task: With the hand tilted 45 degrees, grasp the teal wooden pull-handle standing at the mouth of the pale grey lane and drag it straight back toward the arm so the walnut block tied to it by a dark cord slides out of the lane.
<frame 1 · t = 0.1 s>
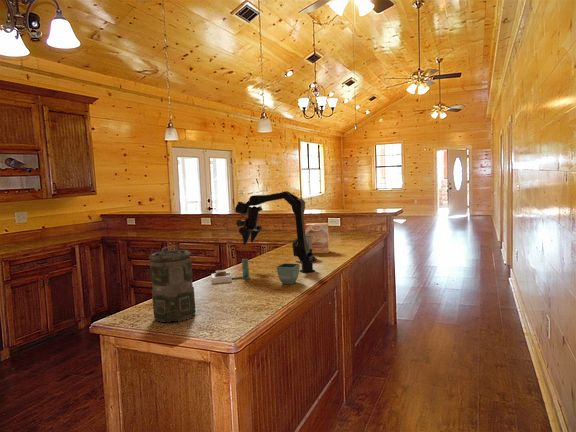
hand: (248, 243, 243), 15 cm above the table, tool pointing down, fingers open, 9 cm apart
flower pot: (289, 283, 209), on the table
coffeecake box: (318, 252, 288), on the table
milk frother: (308, 259, 265), on the table
lane: (221, 280, 223), on the table
canister: (175, 317, 167), on the table
tethered block: (221, 280, 223), on the table
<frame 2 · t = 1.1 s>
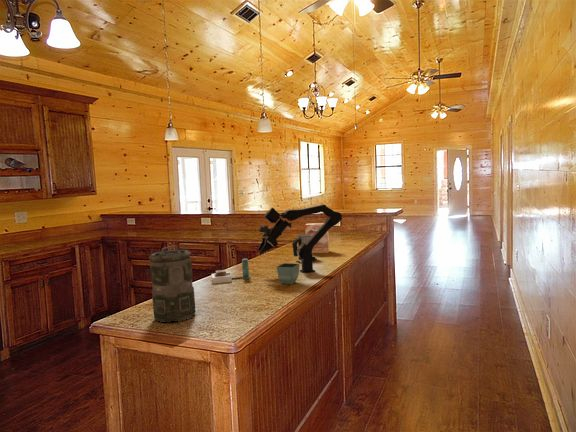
hand: (259, 251, 226), 13 cm above the table, tool tilted 45°, fingers open, 9 cm apart
nothing on the table moved.
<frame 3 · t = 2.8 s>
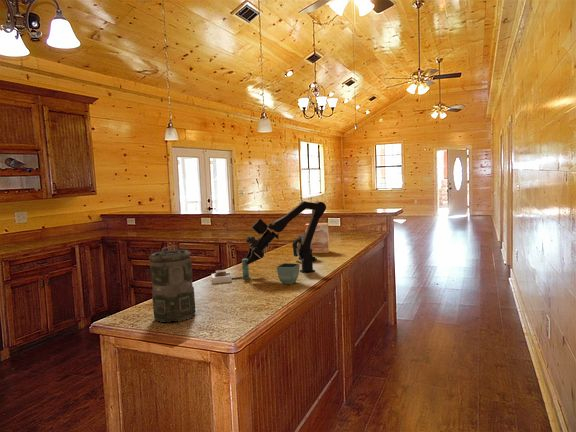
hand: (245, 262, 225), 8 cm above the table, tool tilted 45°, fingers open, 9 cm apart
nothing on the table moved.
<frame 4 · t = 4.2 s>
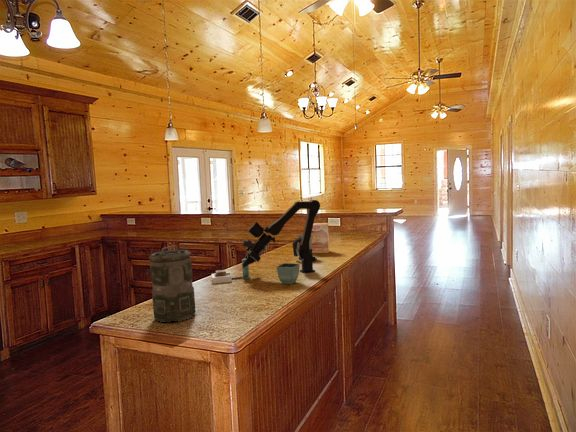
hand: (242, 266, 225), 7 cm above the table, tool tilted 45°, fingers closed on tethered block, 3 cm apart
tethered block: (221, 280, 223), on the table, touching gripper
everything else where it was.
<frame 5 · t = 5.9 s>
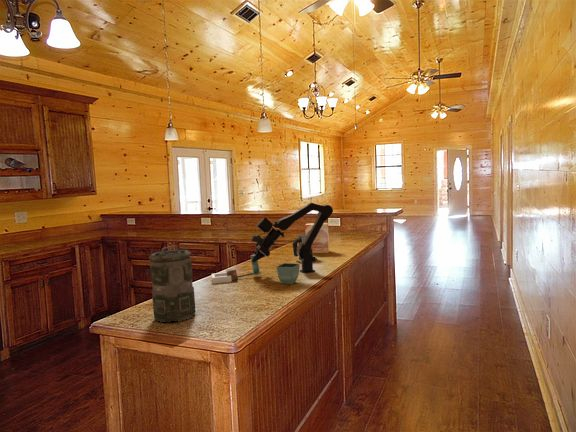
hand: (252, 261, 226), 9 cm above the table, tool tilted 45°, fingers closed on tethered block, 3 cm apart
tethered block: (232, 278, 224), on the table, tilted 7°, touching gripper
everything else where it was.
when the fingers open (7 cm above the table, at t = 7.9 s): tethered block stays where it is, on the table.
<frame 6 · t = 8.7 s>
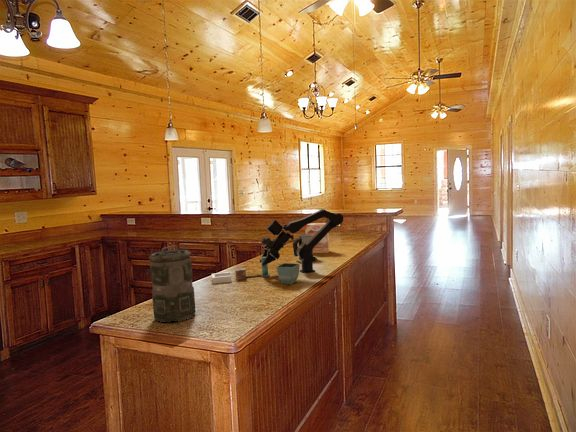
hand: (261, 263, 227), 7 cm above the table, tool tilted 45°, fingers open, 9 cm apart
tethered block: (241, 278, 225), on the table
everything else where it was.
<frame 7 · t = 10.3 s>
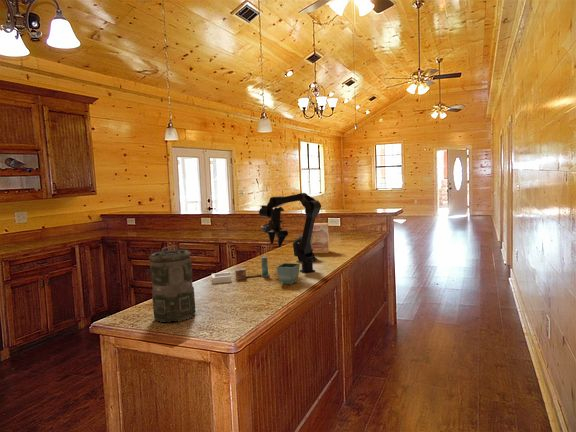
hand: (275, 245, 244), 13 cm above the table, tool pointing down, fingers open, 9 cm apart
nothing on the table moved.
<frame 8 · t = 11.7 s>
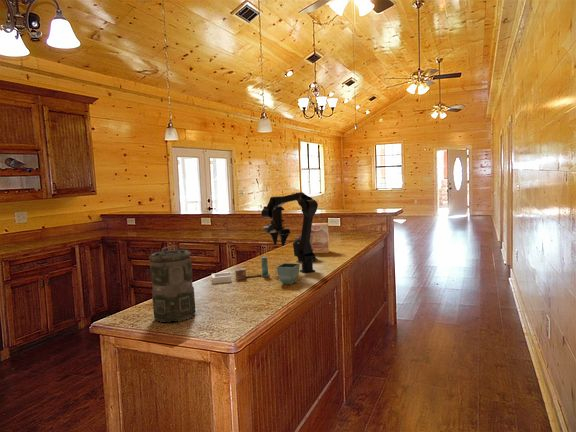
hand: (278, 245, 245), 13 cm above the table, tool pointing down, fingers open, 9 cm apart
nothing on the table moved.
at the end: tethered block inside the target area (2.2 cm from its centre), on the table; tethered block moved 10.3 cm from its start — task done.
